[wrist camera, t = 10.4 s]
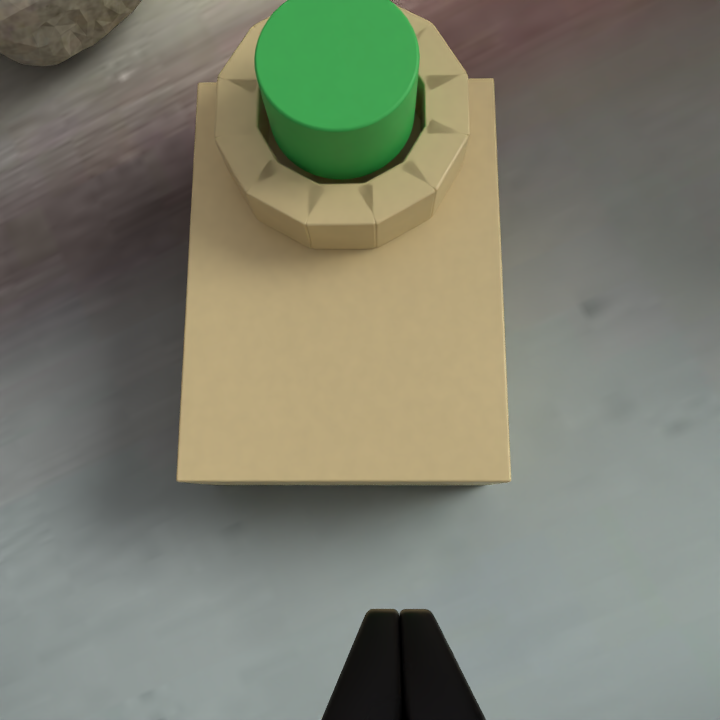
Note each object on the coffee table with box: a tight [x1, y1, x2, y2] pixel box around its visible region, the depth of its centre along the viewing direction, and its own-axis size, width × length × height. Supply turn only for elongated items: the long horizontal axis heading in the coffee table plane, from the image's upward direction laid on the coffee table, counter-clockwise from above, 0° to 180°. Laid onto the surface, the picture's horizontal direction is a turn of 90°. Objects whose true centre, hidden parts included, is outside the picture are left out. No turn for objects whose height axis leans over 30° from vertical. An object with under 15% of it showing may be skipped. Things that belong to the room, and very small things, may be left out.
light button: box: [254, 0, 420, 180], centre depth 18 cm, size 4×4×2 cm
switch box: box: [176, 5, 511, 485], centre depth 21 cm, size 13×9×6 cm
